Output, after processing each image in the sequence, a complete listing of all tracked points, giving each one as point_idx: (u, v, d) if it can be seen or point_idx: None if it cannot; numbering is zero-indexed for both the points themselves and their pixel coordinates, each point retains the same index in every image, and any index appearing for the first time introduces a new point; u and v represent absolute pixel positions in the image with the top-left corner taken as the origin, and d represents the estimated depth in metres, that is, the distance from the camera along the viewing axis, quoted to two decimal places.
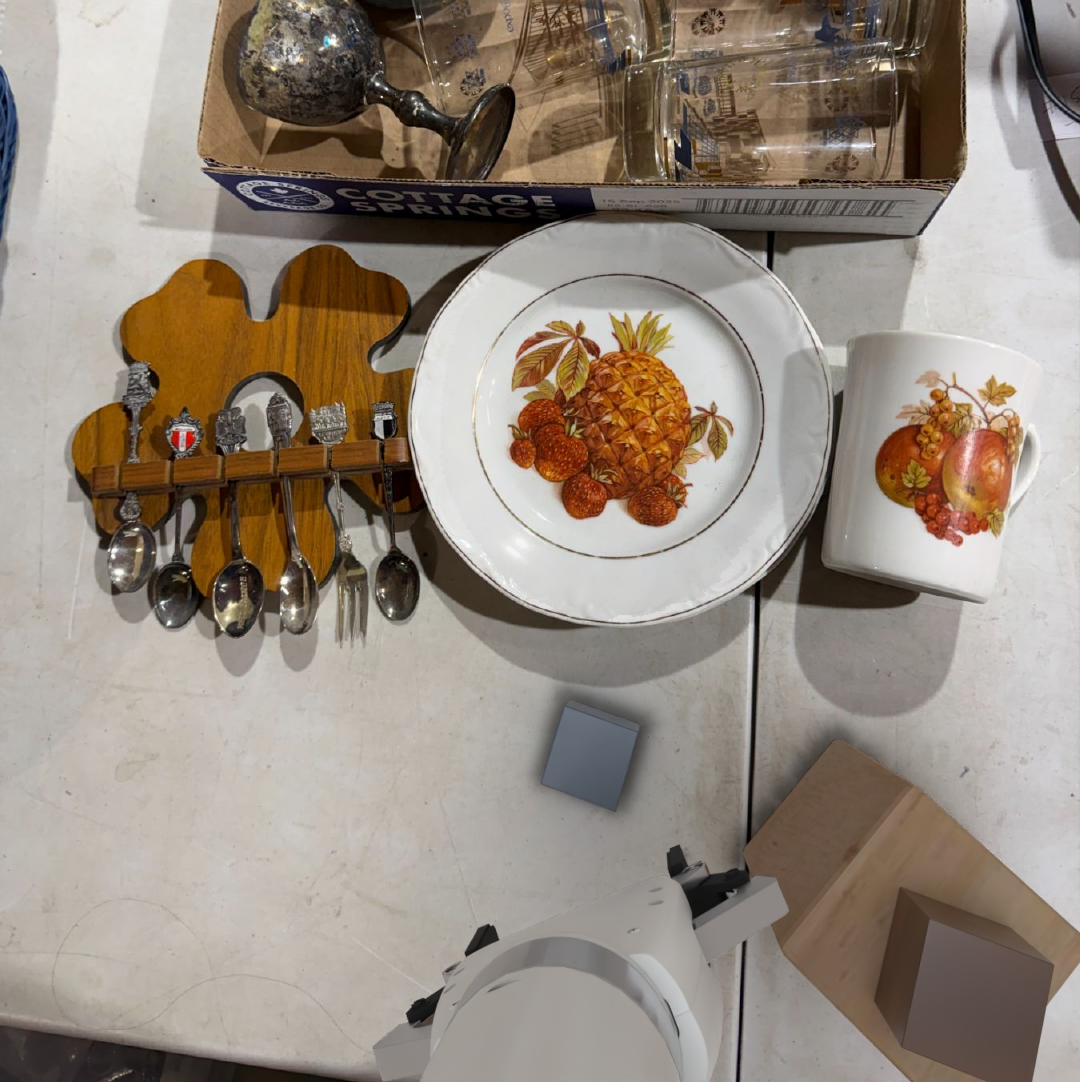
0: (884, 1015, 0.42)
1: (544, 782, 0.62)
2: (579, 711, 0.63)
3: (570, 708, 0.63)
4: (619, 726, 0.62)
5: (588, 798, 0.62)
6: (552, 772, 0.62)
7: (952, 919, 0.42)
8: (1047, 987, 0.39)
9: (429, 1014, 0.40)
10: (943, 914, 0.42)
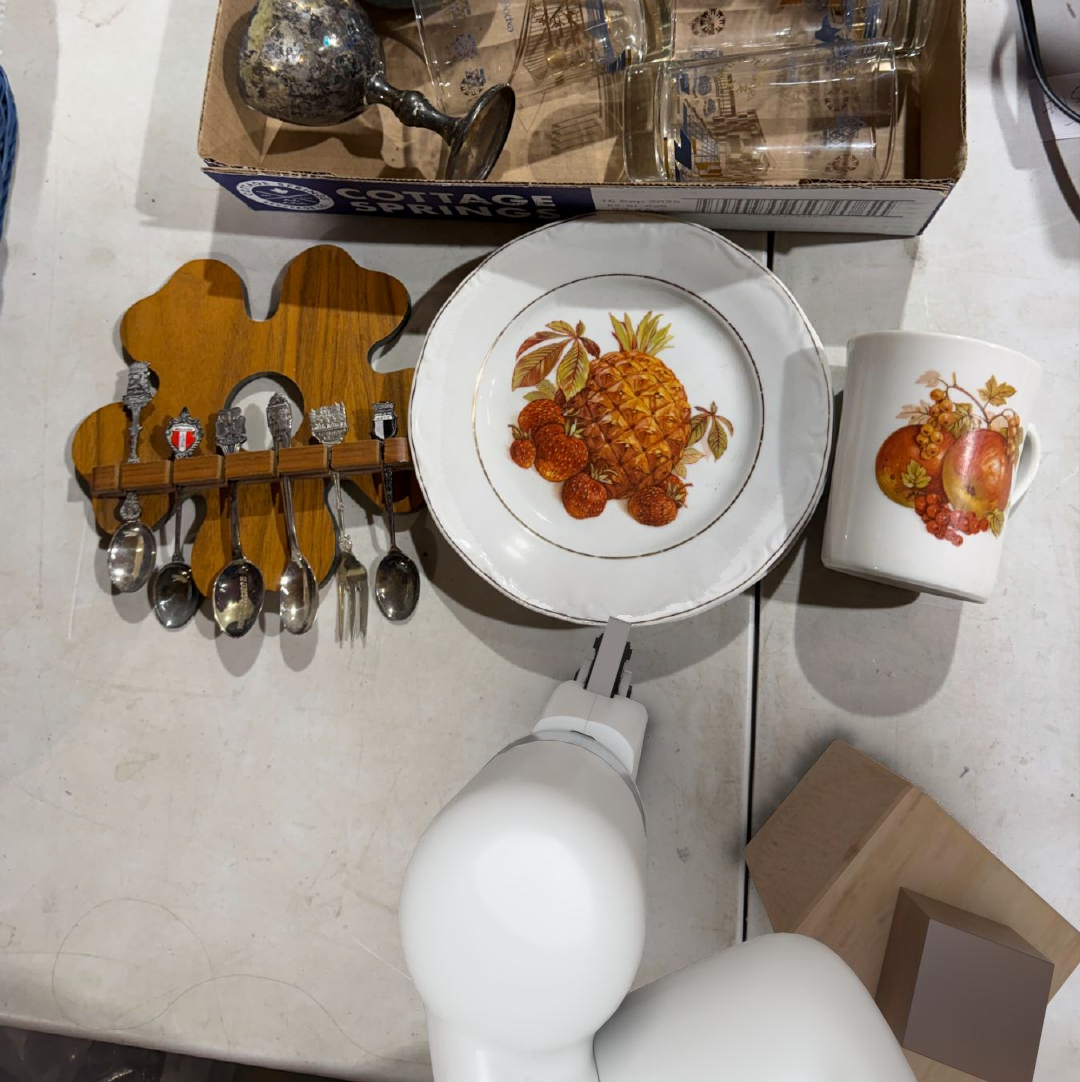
0: (884, 1015, 0.42)
1: None
2: None
3: None
4: None
5: None
6: None
7: (952, 919, 0.42)
8: (1047, 987, 0.39)
9: None
10: (943, 914, 0.42)
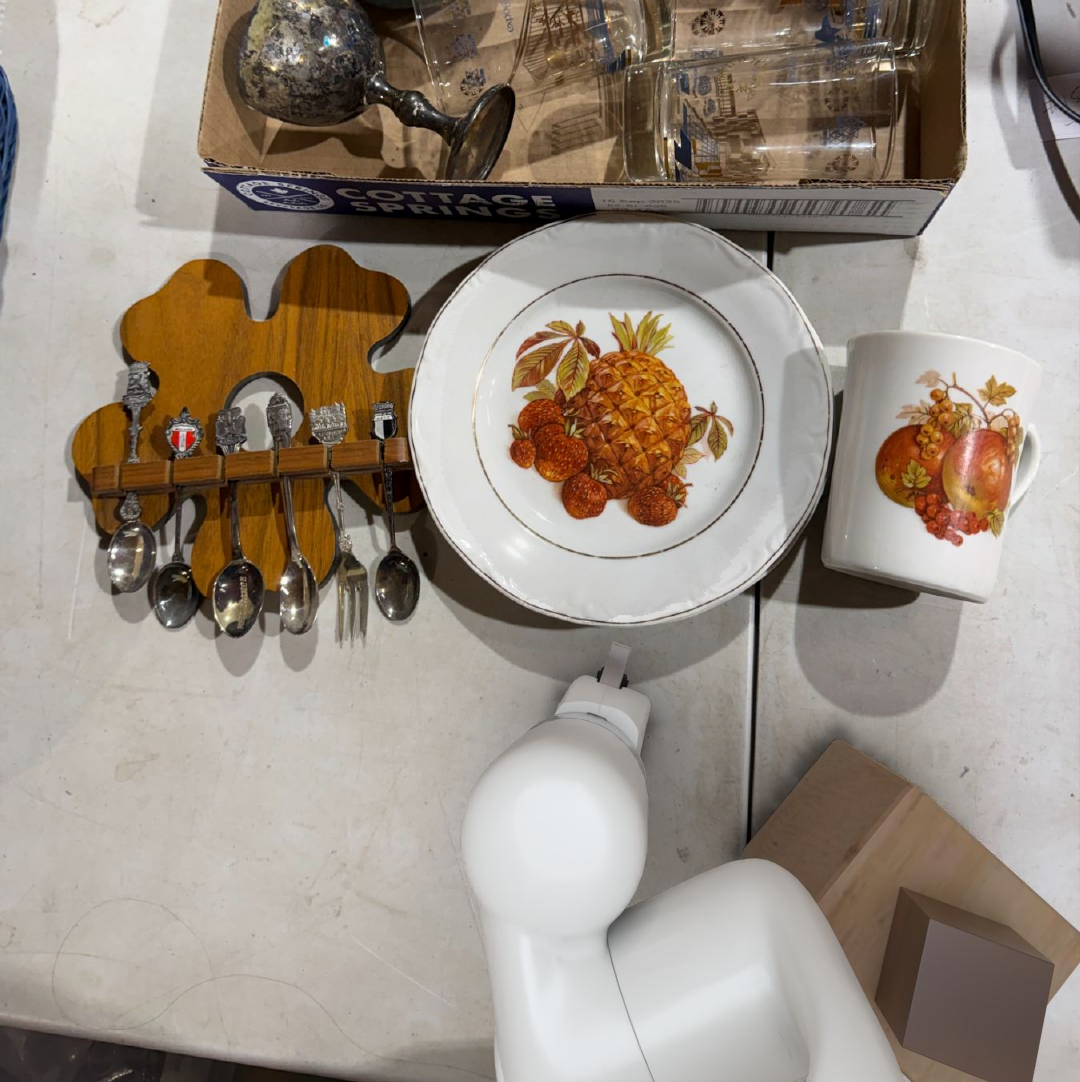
0: (884, 1015, 0.42)
1: None
2: None
3: None
4: None
5: None
6: None
7: (952, 919, 0.42)
8: (1047, 987, 0.39)
9: None
10: (943, 914, 0.42)
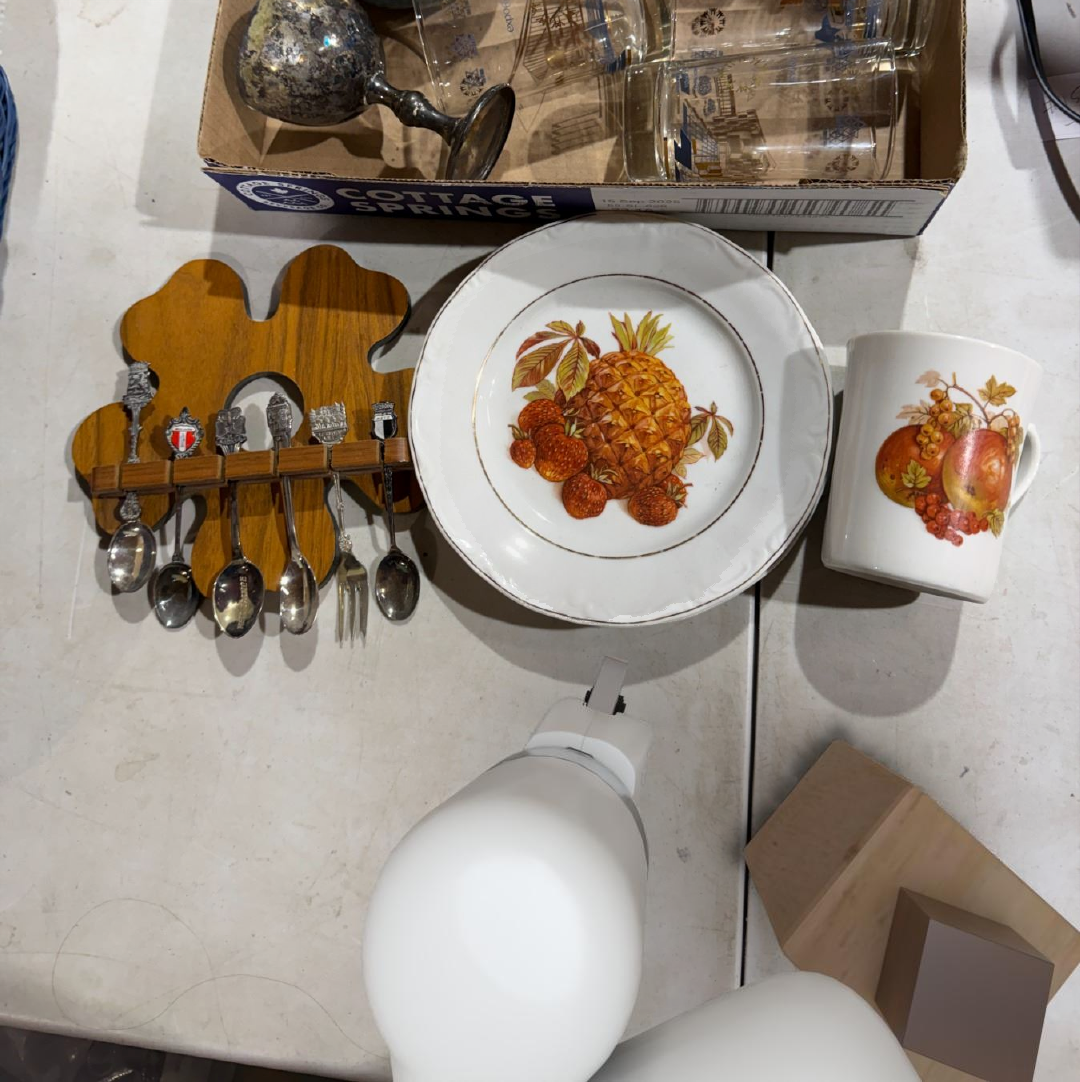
0: (884, 1015, 0.42)
1: None
2: None
3: None
4: None
5: None
6: None
7: (952, 919, 0.42)
8: (1047, 987, 0.39)
9: None
10: (943, 914, 0.42)
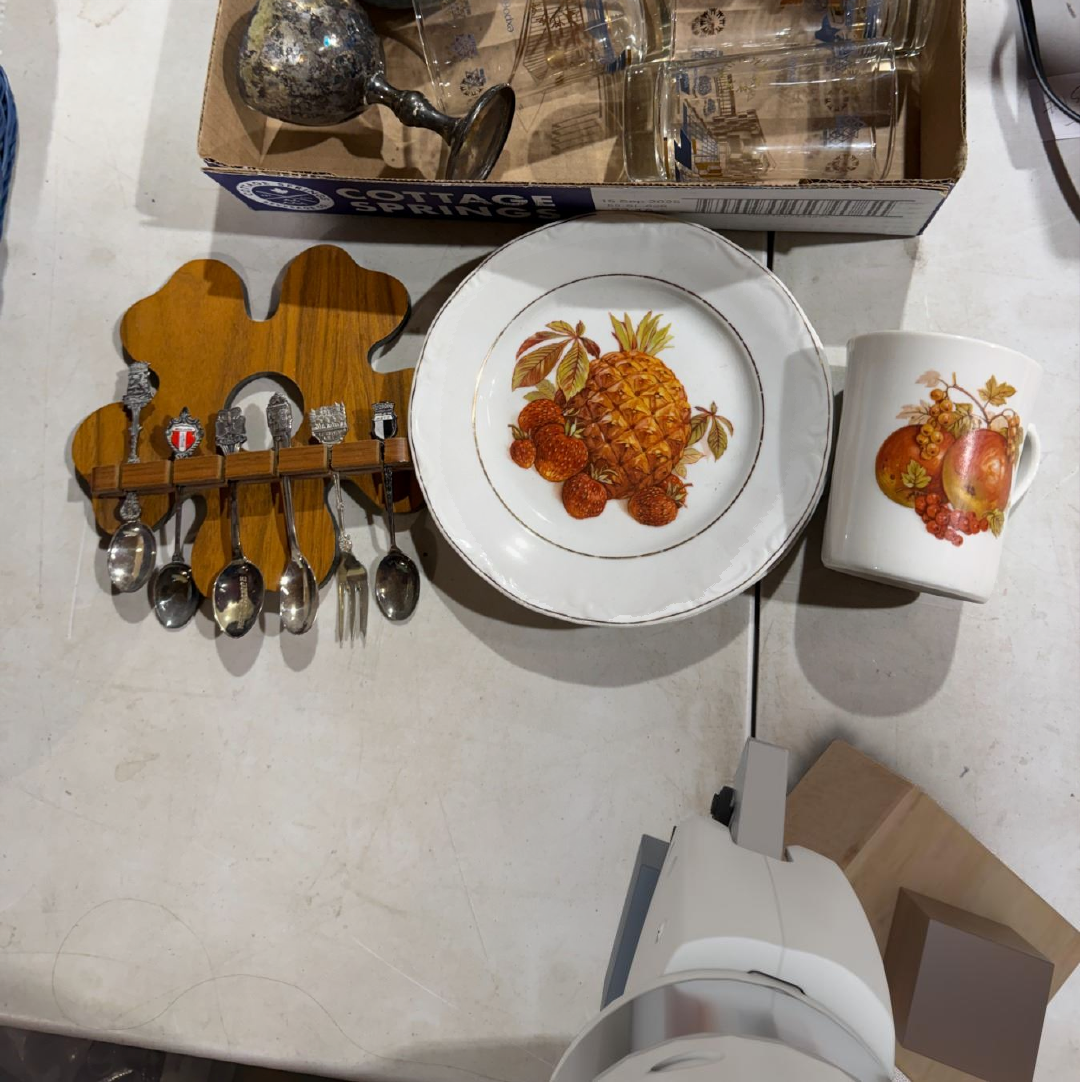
0: None
1: None
2: None
3: (653, 869, 0.31)
4: None
5: None
6: None
7: (952, 919, 0.42)
8: (1047, 987, 0.39)
9: None
10: (943, 914, 0.42)
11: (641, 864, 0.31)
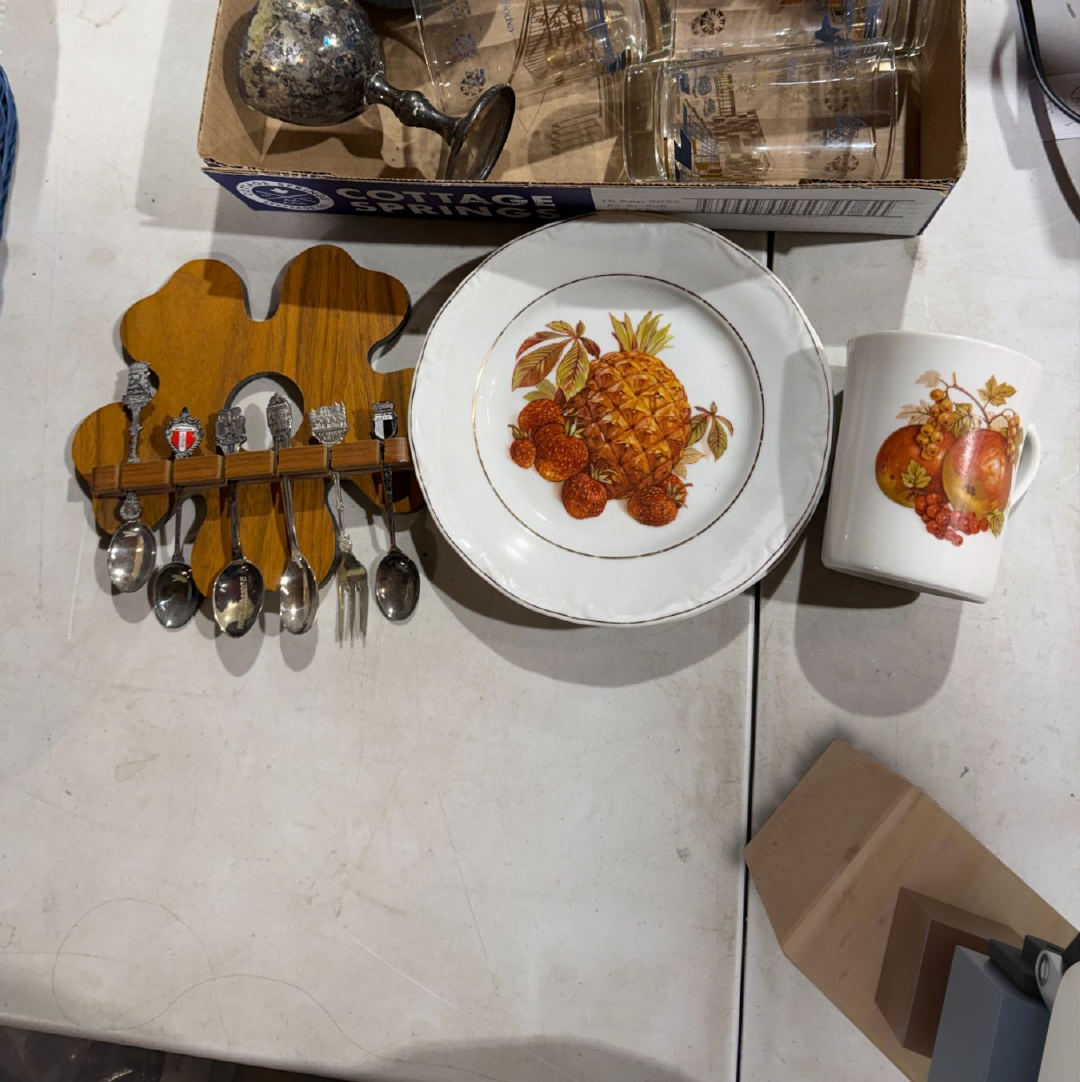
0: (884, 1015, 0.42)
1: None
2: (1033, 1005, 0.32)
3: (1014, 998, 0.32)
4: None
5: None
6: None
7: (952, 919, 0.42)
8: None
9: None
10: (943, 914, 0.42)
11: (1000, 992, 0.32)
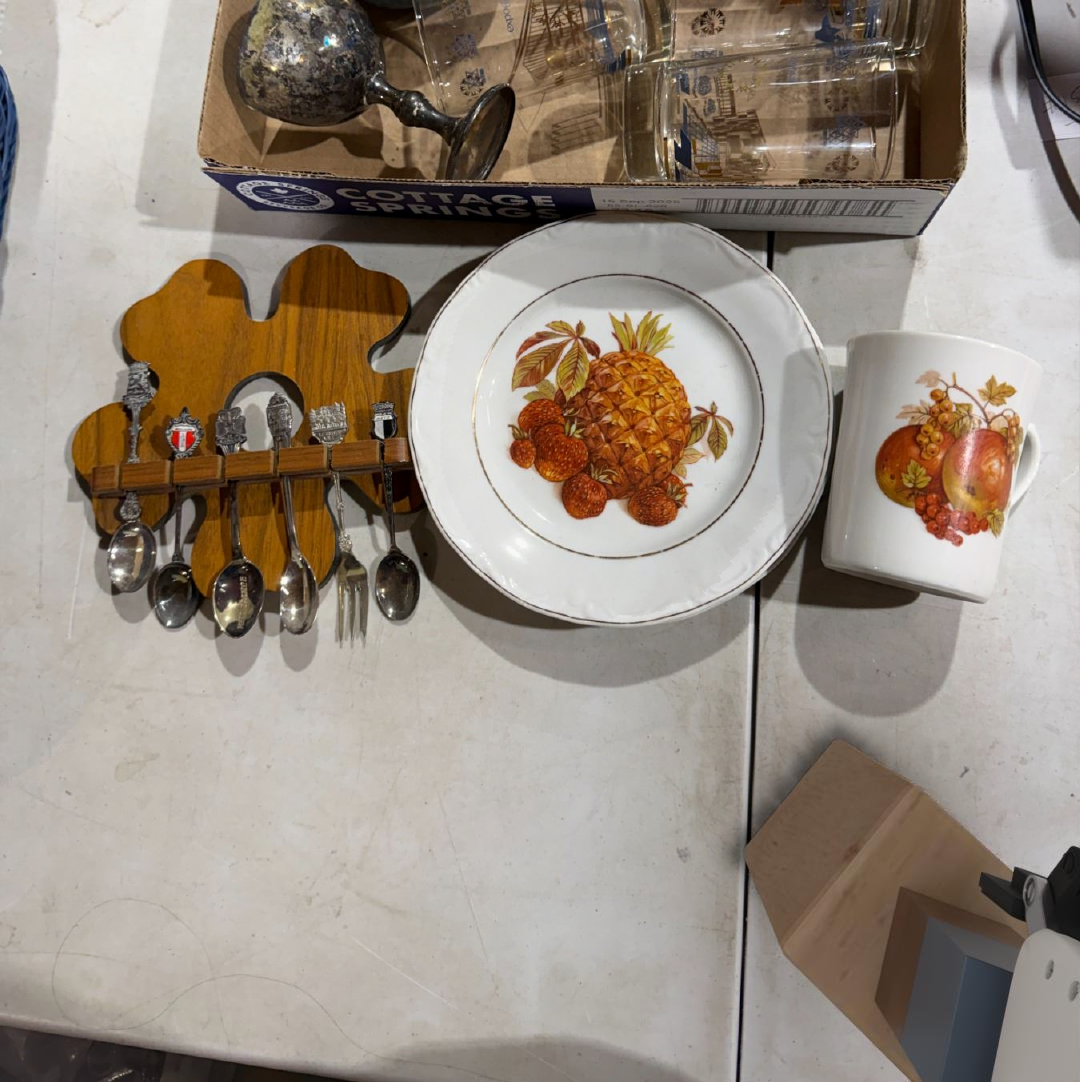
0: (884, 1014, 0.42)
1: None
2: (994, 966, 0.35)
3: (977, 960, 0.36)
4: None
5: None
6: (956, 1081, 0.35)
7: (952, 918, 0.42)
8: None
9: None
10: (943, 913, 0.42)
11: (964, 955, 0.36)
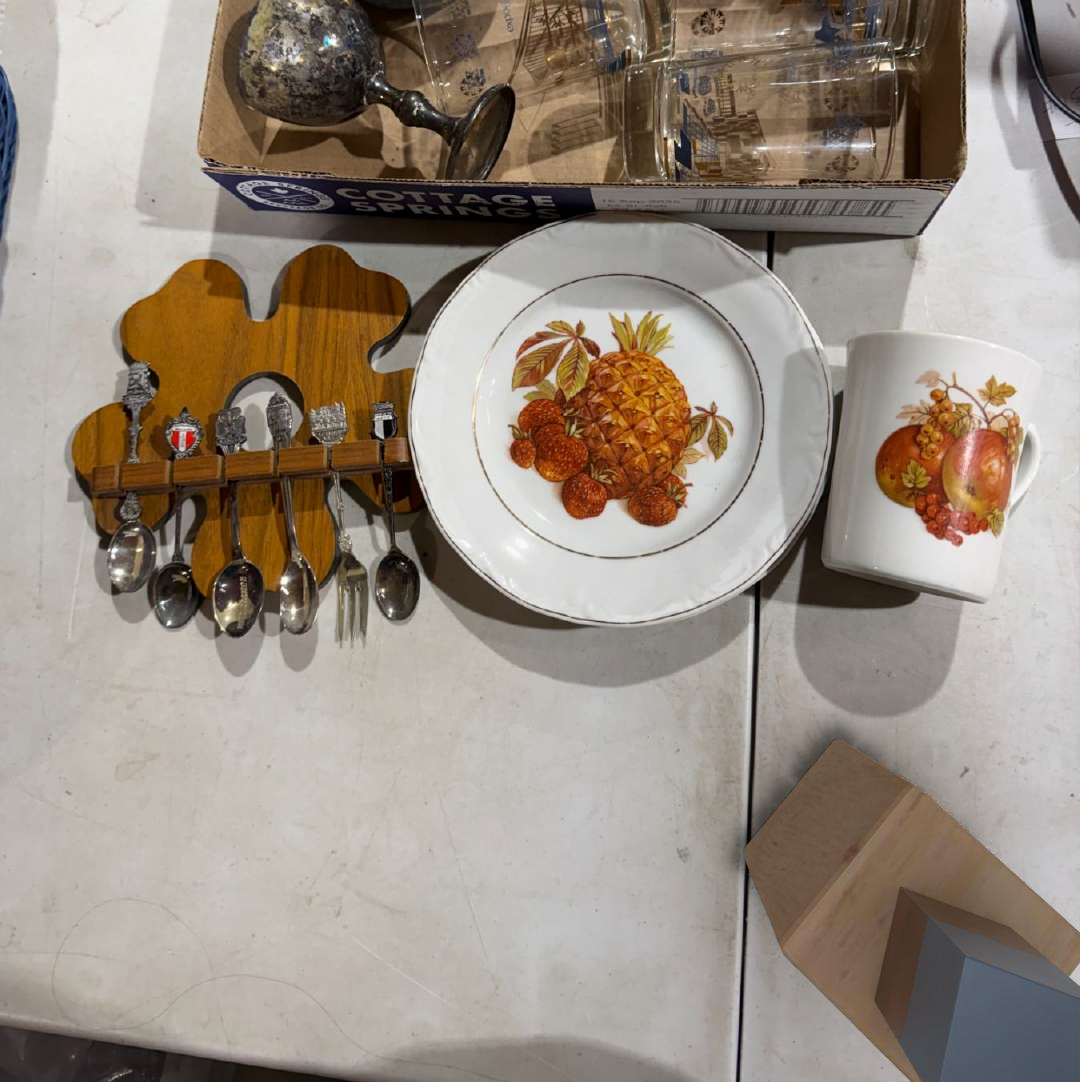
0: (884, 1015, 0.42)
1: None
2: (993, 967, 0.35)
3: (976, 961, 0.36)
4: (1071, 998, 0.35)
5: None
6: None
7: (952, 919, 0.42)
8: None
9: None
10: (943, 914, 0.42)
11: (964, 955, 0.36)
